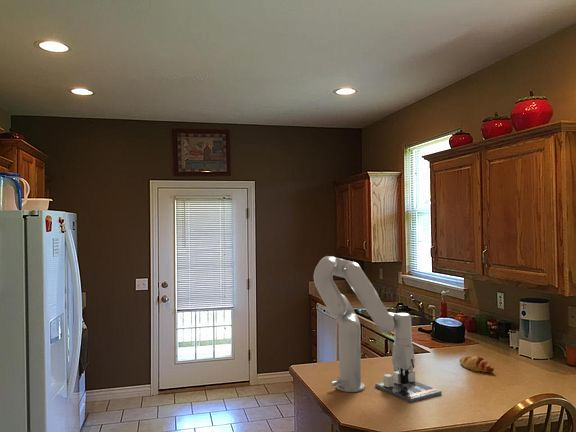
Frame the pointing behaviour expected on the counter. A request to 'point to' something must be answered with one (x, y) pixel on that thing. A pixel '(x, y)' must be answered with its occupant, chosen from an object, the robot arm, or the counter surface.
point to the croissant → (476, 364)
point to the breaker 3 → (411, 376)
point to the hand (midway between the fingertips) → (404, 383)
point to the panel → (410, 391)
